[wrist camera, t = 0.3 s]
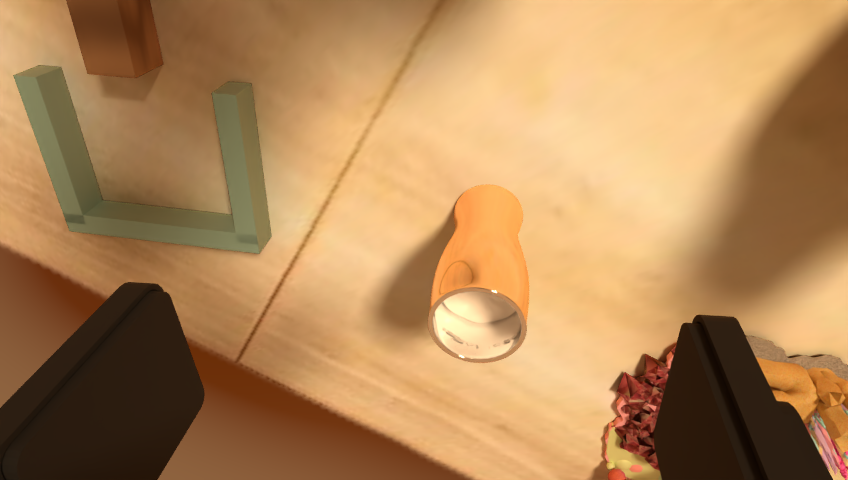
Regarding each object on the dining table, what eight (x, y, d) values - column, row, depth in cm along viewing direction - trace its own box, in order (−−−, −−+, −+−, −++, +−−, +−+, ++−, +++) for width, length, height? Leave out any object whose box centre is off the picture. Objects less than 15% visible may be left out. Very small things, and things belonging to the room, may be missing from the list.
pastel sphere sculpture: (619, 324, 55) (635, 397, 47) (892, 334, 51) (958, 416, 43) (597, 482, 68) (606, 560, 60) (812, 500, 64) (851, 585, 56)
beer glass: (458, 252, 52) (438, 369, 40) (440, 186, 49) (412, 292, 36) (534, 241, 51) (537, 361, 38) (520, 172, 47) (520, 279, 35)
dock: (39, 65, 48) (13, 75, 46) (251, 83, 46) (235, 95, 44) (89, 215, 57) (69, 231, 54) (271, 236, 55) (259, 253, 52)
